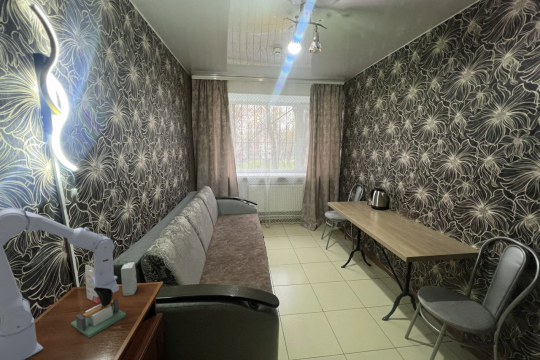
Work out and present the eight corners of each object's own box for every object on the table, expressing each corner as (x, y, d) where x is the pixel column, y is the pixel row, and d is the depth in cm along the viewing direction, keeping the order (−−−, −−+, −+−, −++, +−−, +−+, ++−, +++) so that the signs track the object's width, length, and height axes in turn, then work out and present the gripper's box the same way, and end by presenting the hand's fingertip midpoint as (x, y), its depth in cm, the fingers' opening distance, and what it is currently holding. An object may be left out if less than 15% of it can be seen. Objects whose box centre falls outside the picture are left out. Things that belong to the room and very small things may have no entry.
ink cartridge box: (110, 297, 98) (108, 264, 96) (97, 304, 94) (94, 269, 92) (99, 291, 102) (97, 259, 100) (86, 298, 98) (83, 264, 96)
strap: (85, 318, 80) (85, 316, 80) (82, 316, 81) (82, 314, 81) (116, 302, 89) (116, 300, 89) (113, 301, 90) (113, 299, 89)
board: (89, 337, 77) (87, 321, 76) (71, 325, 82) (69, 309, 82) (126, 315, 87) (125, 300, 87) (108, 305, 93) (107, 291, 92)
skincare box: (134, 294, 100) (132, 267, 99) (122, 296, 99) (120, 269, 98) (137, 286, 106) (135, 261, 105) (126, 288, 105) (124, 262, 103)
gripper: (126, 269, 85) (128, 304, 87) (104, 260, 92) (106, 293, 93) (105, 278, 79) (108, 315, 80) (84, 268, 86) (86, 303, 87)
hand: (106, 304), depth 86 cm, fingers closed, pressing on strap
